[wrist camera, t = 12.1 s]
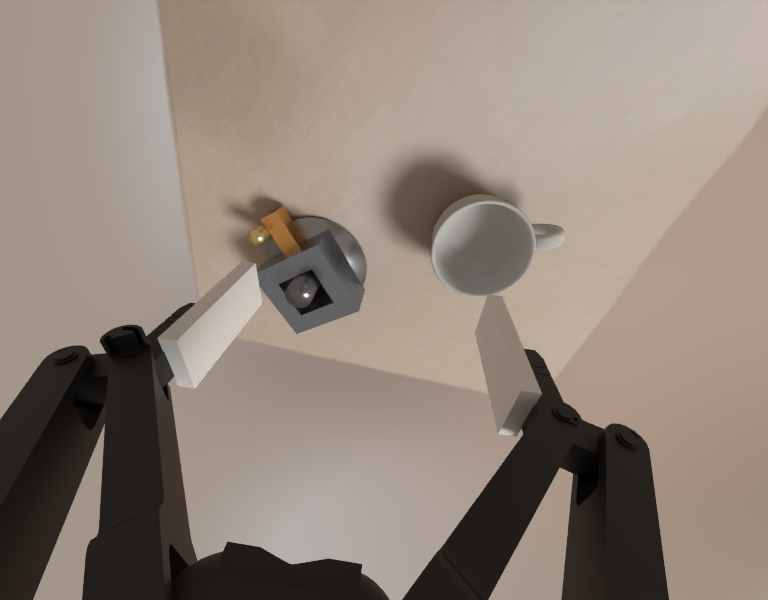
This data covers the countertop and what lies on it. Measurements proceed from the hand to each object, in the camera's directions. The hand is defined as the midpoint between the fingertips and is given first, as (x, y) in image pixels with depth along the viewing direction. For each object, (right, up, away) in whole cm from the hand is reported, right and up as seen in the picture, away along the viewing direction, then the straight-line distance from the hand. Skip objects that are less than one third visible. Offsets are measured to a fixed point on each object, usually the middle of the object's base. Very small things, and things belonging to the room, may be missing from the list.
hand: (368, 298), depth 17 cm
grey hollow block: (-10, +6, +25) cm, 27 cm away
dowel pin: (-14, +10, +23) cm, 29 cm away
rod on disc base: (-9, +5, +26) cm, 28 cm away
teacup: (+14, +9, +21) cm, 27 cm away
